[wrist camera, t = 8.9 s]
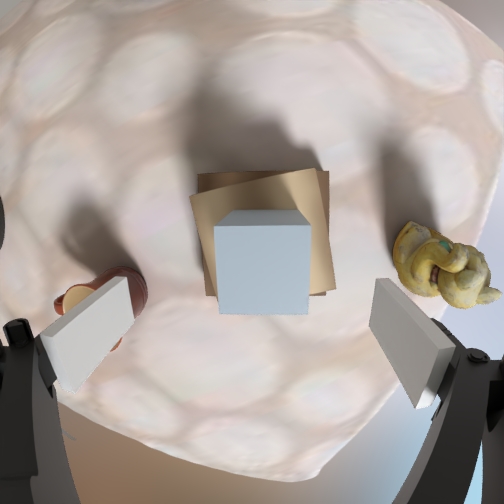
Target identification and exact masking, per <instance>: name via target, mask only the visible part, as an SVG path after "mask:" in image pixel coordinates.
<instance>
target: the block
mask: <svg viewBox="0 0 504 504" xmlns="http://www.w3.org/2000/svg"><path fill="white" fill-rule="evenodd" d="M214 242H215V259H216V275H217V290H218V304H219V314H241V315H302V314H308V306H309V287H310V262H311V224H310V223H309V222H308V221H307V219H306V218H305V217H304V216H303V214H302V213H301V212H300V211H299V210H298V209H275V210H233V211H232V212H230V213H229V214H228V215H227V216H226V217H224V218H223V219H222V220H221V221H220V222H218V223H217V224H216V225H215V226H214Z"/></svg>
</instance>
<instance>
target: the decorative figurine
mask: <svg viewBox="0 0 504 504" xmlns="http://www.w3.org/2000/svg"><path fill="white" fill-rule="evenodd" d="M393 262H394V265H395V267H396V270H397V272H398V277H399V279H400V281H401V283H402V284H403V285H404V286H405V287H406V288H407V289H408V290H409V291H411V292H412V293H414V294H418V295H420V296H423V297H435V296H439V295H442V297H443V299H444V300H445V301H446V302H447V303H448V304H450V305H451V306H453V307H456V308H460V309H467V308H471V307H473V306H474V305H476V304H489V303H491V302H493V301H495V300H497V299H499V298H500V296H501V295H502V293H501V292H500V291H499V290H498V289H495V288H491V287H489V284H490V279H491V273H490V270H489V268H488V265H487V263H486V261H485V259H484V254H483V253H481V252H478V250H477V249H476V248H474V247H473V246H470V245H464V244H461V243H453V242H452V241H450V240H449V239H448V238H446V237H444V236H443V235H441V233H439V232H437V231H435V230H433V229H430V228H428V227H424V226H420V225H418V224H417V223H415V222H413V221H409V222H408V223H407V224H406V225H405V226H404V228H403V229H402V230H401V232H400V233H399V235H398V237H397V239H396V241H395V243H394V247H393Z"/></svg>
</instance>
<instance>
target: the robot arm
mask: <svg viewBox="0 0 504 504" xmlns="http://www.w3.org/2000/svg"><path fill="white" fill-rule="evenodd" d="M4 229H5V224H4V212H3V206H2V202H1V199H0V249H1V247H2V244H3V239H4ZM134 322H135V320H134V315H133V310H132V305H131V299H130V294H129V288H128V282H127V277H118V276H115V277H114V278H112V279H111V280H110V281H108V282H107V283H105V284H104V285H103V286H101V287H100V288H99V289H97V290H96V291H94V292H93V293H92V294H90V295H89V296H88V297H86V298H85V299H84V300H82V301H81V302H80V303H78V304H77V305H76V306H74V307H73V308H72V309H71V310H69V311H68V312H67V313H65V314H64V315H63V316H61V317H60V318H59V319H58V320H56V321H55V322H54V323H52V324H51V325H50V326H49V327H47V328H46V329H45V330H44V331H42V332H41V333H40V334H39V335H38V336H36V337H35V338H34V337H33V334H32V331H31V328H30V325H29V322H28V320H27V319H23V318H20V319H15V320H12V321H10V322H8V323H7V324H5V325H4V327H3V331H4V333H5V336H6V339H7V341H8V344H9V346H3V344H2V342H1V339H0V504H81V503H80V500H79V497H78V494H77V492H76V488H75V485H74V481H73V478H72V475H71V471H70V467H69V463H68V459H67V455H66V451H65V446H64V441H63V436H62V430H61V425H60V419H59V412H58V406H57V405H58V404H57V396H56V389H55V387H54V385H53V383H54V382H55V380H56V379H57V380H58V382H59V384H60V386H61V388H62V390H65V391H68V392H71V393H74V394H76V392H77V391H78V390H79V388H80V387H81V386H82V385H83V383H84V382H85V381H86V380H87V378H88V377H89V376H90V375H91V373H92V372H93V371H94V370H95V369H96V367H97V366H98V365H99V364H100V362H101V361H102V360H103V359H104V358H105V356H106V355H107V354H108V353H109V352H110V350H111V349H112V348H113V347H114V346H115V344H116V343H117V342H118V341H119V340H120V338H121V337H122V336H123V335H124V334H125V333H126V331H127V330H128V329H129V328H130V327H131V326H132V324H133V323H134ZM369 327H370V329H371V330H372V332H373V334H374V336H375V337H376V339H377V341H378V342H379V344H380V346H381V348H382V349H383V351H384V353H385V355H386V356H387V358H388V360H389V362H390V363H391V365H392V367H393V369H394V371H395V372H396V374H397V376H398V378H399V380H400V382H401V383H402V385H403V387H404V389H405V391H406V393H407V395H408V396H409V398H410V400H411V402H412V404H413V406H414V408H415V409H418V408H423V407H427V406H431V405H432V403H433V401H434V399H435V397H436V395H437V394H438V396H439V397H440V399H441V402H440V404H439V406H438V408H437V410H436V411H435V413H434V415H433V417H432V419H431V420H432V424H431V426H430V429H429V432H428V434H427V436H426V439H425V441H424V443H423V446H422V448H421V450H420V452H419V454H418V457H417V459H416V461H415V463H414V465H413V467H412V469H411V471H410V473H409V475H408V476H407V478H406V480H405V482H404V484H403V486H402V487H401V489H400V491H399V493H398V494H397V496H396V498H395V500H394V501H393V503H392V504H464V501H465V498H466V495H467V492H468V489H469V486H470V483H471V480H472V477H473V473H474V470H475V466H476V462H477V458H478V454H479V450H480V446H481V441H482V452H483V483H482V501H481V504H504V355H503V357H502V360H490V357H489V356H488V355H487V354H486V353H485V352H483V351H482V350H479V349H474V348H468V349H466V348H465V347H464V346H463V345H462V344H461V342H460V341H459V340H458V339H457V338H456V337H455V336H454V335H452V333H451V332H450V331H449V330H447V328H446V327H445V326H444V325H443V324H442V323H441V322H439V321H437V320H435V319H433V318H429V317H428V316H427V315H426V314H425V313H424V312H423V311H422V310H421V309H420V308H419V307H418V306H417V305H416V304H415V303H414V302H413V301H412V300H411V299H410V298H409V297H408V296H407V295H406V294H405V293H404V292H403V291H402V290H401V289H400V288H399V287H398V286H397V285H396V284H395V283H394V282H392V281H391V280H390V279H389V278H380V279H376V282H375V290H374V297H373V303H372V310H371V316H370V321H369Z"/></svg>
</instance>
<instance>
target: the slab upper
mask: <svg viewBox="0 0 504 504" xmlns="http://www.w3.org/2000/svg"><path fill="white" fill-rule="evenodd" d="M189 198H190V202H191V206H192V210H193V214H194V217H195V221H196V225H197V229H198V233H199V237H200V240H201V244H202V248H203V252H204V255H205V259H206V262H207V266H208V270H209V273H210V277H211V280H212V284H213V287H214V291H215V294H216V297H217V301H218V290H217V275H216V259H215V242H214V226H215V225H216V224H217V223H218V222H220V221H221V220H222V219H223V218H224V217H226V216H227V215H228V214H229V213H230V212H232V211H233V210H275V209H298V210H299V211H300V212H301V213H302V214H303V216H304V217H305V218H306V219H307V221H308V222H309V223H310V224H311V262H310V287H309V295H310V294H315V293H320V292H325V291H329V290H334V289H336V283H335V276H334V269H333V262H332V255H331V249H330V243H329V237H328V231H327V225H326V219H325V214H324V209H323V203H322V198H321V193H320V188H319V183H318V179H317V174H316V169H315V168H310V169H305V170H300V171H294V172H289V173H285V174H280V175H275V176H270V177H266V178H261V179H256V180H252V181H248V182H243V183H239V184H235V185H231V186H226V187H222V188H218V189H214V190H210V191H207V192H203V193H199V194H195V195H191V196H189Z"/></svg>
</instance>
